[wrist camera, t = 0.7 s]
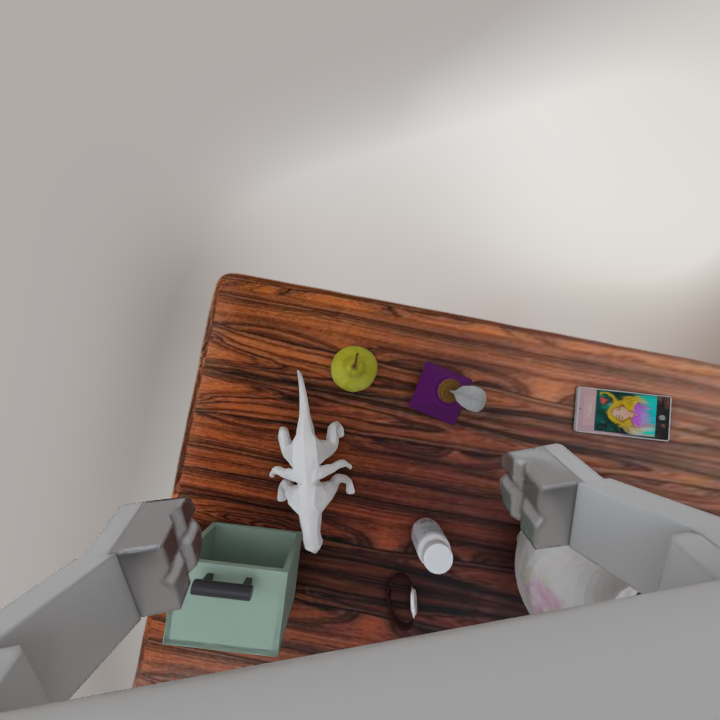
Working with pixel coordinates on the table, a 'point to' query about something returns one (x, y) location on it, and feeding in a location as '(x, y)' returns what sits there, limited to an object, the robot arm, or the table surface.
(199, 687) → the robot arm
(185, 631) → the basket
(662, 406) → the smartphone
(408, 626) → the watch
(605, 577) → the ceramic pitcher
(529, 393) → the table surface
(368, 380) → the fruit
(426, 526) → the pill bottle
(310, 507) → the white toy dinosaur
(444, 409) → the perfume bottle
